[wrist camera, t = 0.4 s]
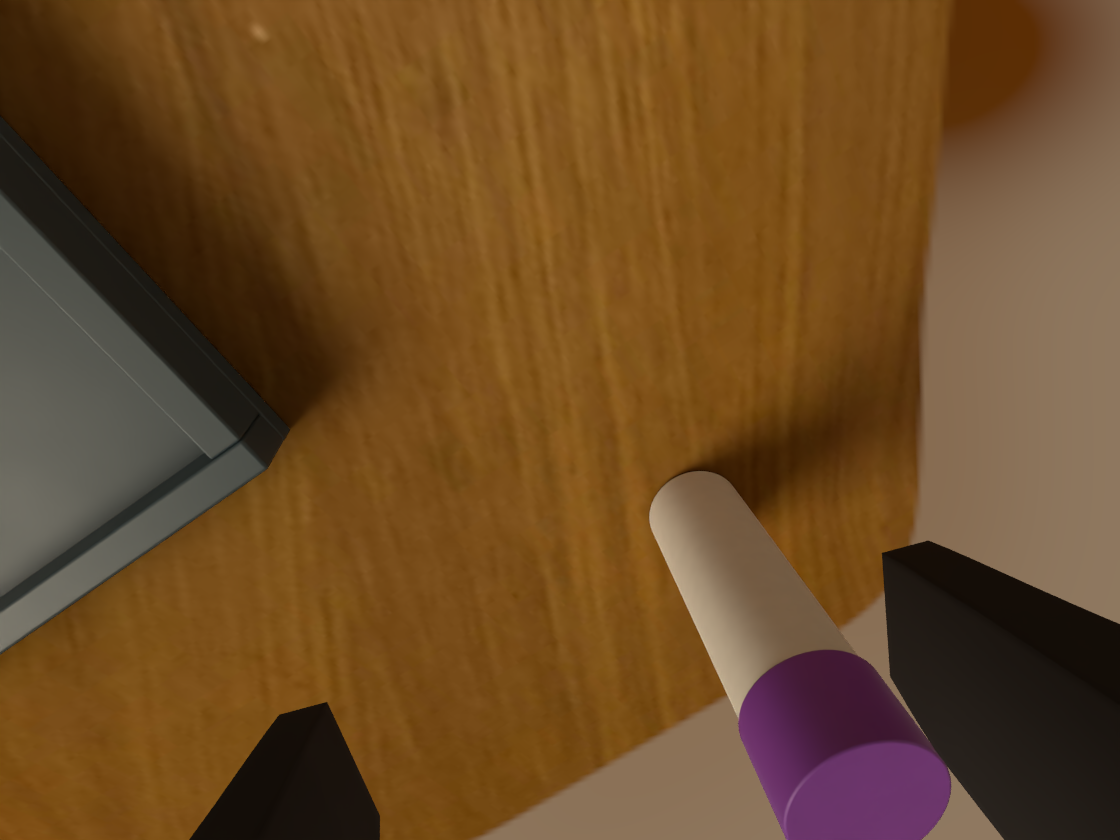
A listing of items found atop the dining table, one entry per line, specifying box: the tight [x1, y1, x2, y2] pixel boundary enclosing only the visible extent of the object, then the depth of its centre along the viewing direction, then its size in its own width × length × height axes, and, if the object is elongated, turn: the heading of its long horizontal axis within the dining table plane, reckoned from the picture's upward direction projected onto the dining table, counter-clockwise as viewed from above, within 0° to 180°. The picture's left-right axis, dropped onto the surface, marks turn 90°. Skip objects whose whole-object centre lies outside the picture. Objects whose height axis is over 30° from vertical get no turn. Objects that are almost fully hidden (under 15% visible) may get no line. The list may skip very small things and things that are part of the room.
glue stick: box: [649, 471, 951, 840], centre depth 15 cm, size 3×3×9 cm
